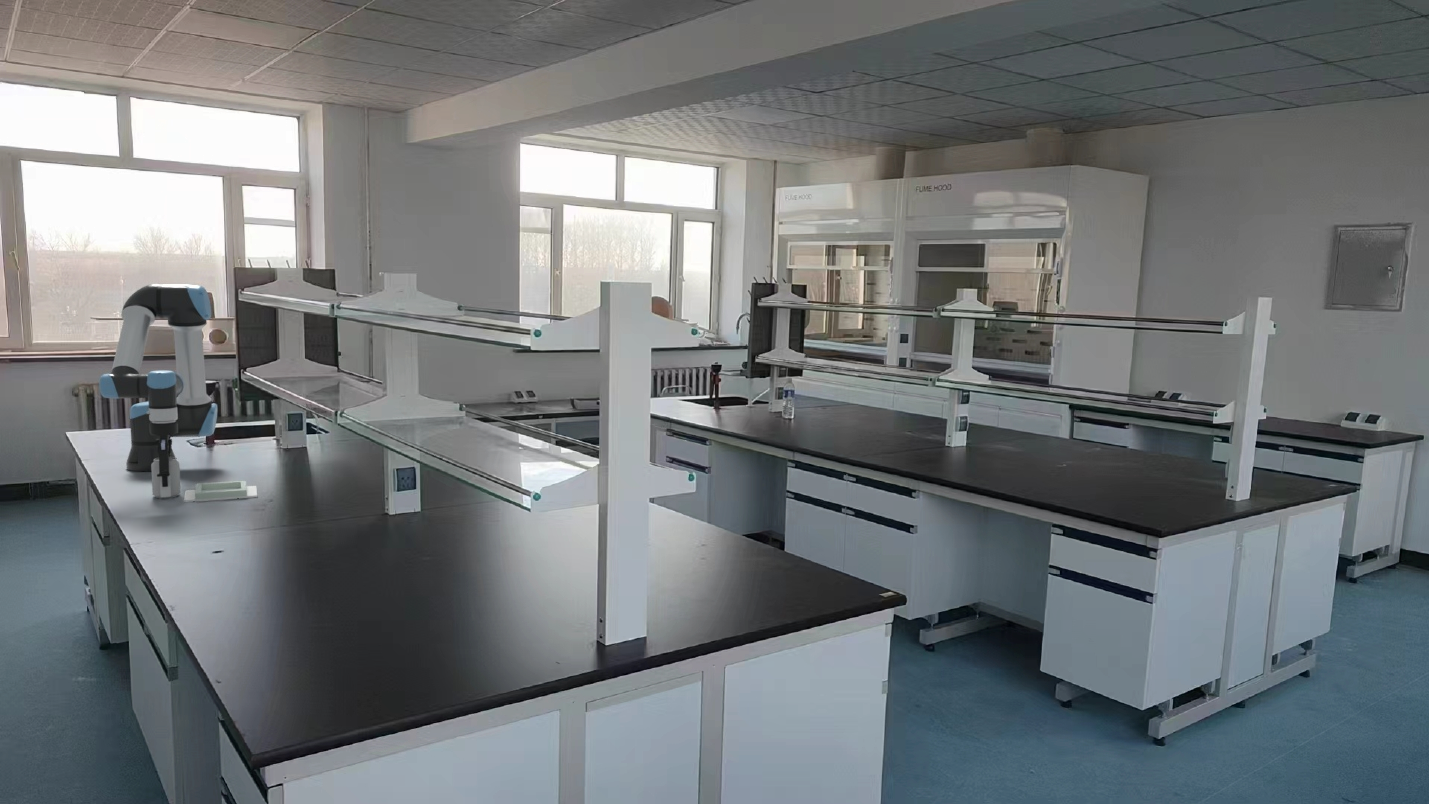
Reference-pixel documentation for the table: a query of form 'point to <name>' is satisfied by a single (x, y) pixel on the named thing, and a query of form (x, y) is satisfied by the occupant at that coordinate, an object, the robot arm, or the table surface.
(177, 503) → the table surface
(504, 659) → the table surface
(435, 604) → the table surface
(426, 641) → the table surface
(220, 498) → the green and white tray
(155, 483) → the can
